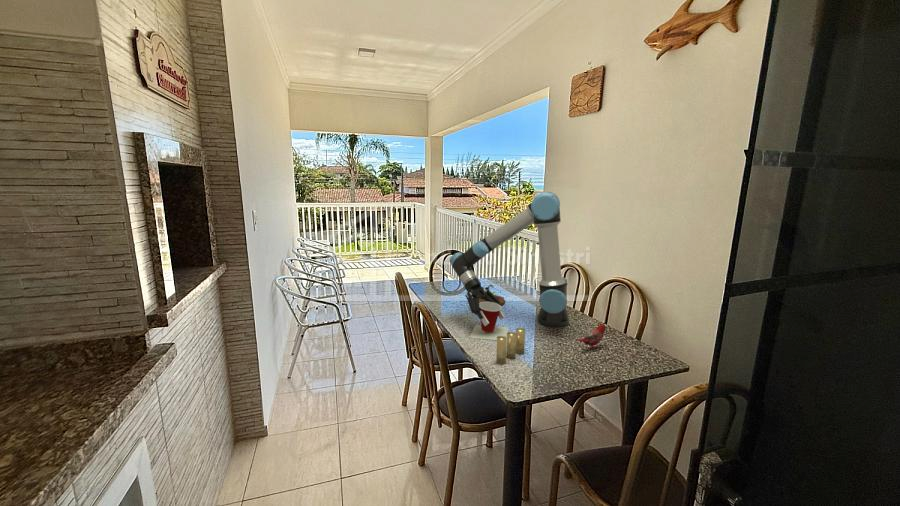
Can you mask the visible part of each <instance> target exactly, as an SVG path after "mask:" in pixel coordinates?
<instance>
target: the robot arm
mask: <svg viewBox="0 0 900 506" xmlns="http://www.w3.org/2000/svg"><path fill="white" fill-rule="evenodd" d="M560 201H561V200H560V199H559V197H558V196H557V195H556V194H555V193H554V192H551V191H544V192H540V193H538V194H536V195H535V196H534V197H533V199H532V201H531V202H530V203H529V204H528V205H527V206H526V208H525V209H524V210H523V211H521V212H520V213H519V214H516V215H515V216H514V217H513V218H511V219H510V220H508V221H507V222H506V223H504V224H503V225H501V226H499V227H498V228H496V229H495V230H494V231H493V232H491V233H490V234H489V233H488V235H487V236H485V237H484V238H482V239H481V240H477V242H475V243H473V244H472V245H471V246H470V247H469V248H467V250H465V252H463V253H462V252H460V251H459V252H456V253H454V254H453V255H451V256H450V258H449V264H450V265H451V267H452V269H453V271H454V272H455V274H456V275H457V277H458V278H459V281H460V282H461V283H462V285H463V286H464V289H465V290H466V291H467V293H466V294H465V295H464V296H465V299H466V300H467V302H468V306H469V308H470V313H471V314H474V315H477V317H478V319H479V320H480V319H481V320H480V322H481V321H482V322H483V324H484V326H486V325H487V324H488V323H489V322H488V320H487V318H486V317H485V315H484V313H483V312H482V311H480V307H479V299H481V298H482V299H484V300H485V301H487V302H493V303H497V304H499V303H500V301H499V300H498V299H497V298H496V297H495V296H494V295H495V294H494V295H493V294H492V292H491V291H490V288H489V289H488V286H486V287H483V286H482V283H481V281H480V280H479V278H478V277H477V275H476V273H475V272H474V270H473V269H472V267H473V266H474V265H475V264H476V263H479V261H480V260H483V258H485V257H486V256H487V255H488V254H489V253H490V252H492V251H494V250H495V249H496V248H498V247H500V246H501V245H502V244H504V243H506V242H507V241H510V239H511V238H513V237H515V236H516V235H517V234H519V233H521V232H522V231H524V230H526V229H527V228H528V227H530V226H531V225H534V226H535V227H536V228H537V237H538V238H537V239H538V247H539V248H538V249H539V258H540V259H539V260H540V270H541V271H540V272H541V280H540V281H539V282H538V289H539V298H538V301H539V305H540V308H539V312H538V314H537V323H538V324H540V325H542V326H545V327H551V328H565V327H568V325H569V323H570V318H569V315H568V311H567V304H568V299H567V297H568V296H567V295H568V279H567V278H565V277H562V270H561V255H560V241H559V229H558V225H559V224H560V223H561V210H560V207H561V202H560ZM482 287H483V288H484V289H483V288H482ZM502 311H503V310H502V309H501V310H500V312H499V314H498V318H499V320H503V319H504V318H505V317H506V316H505V315H504V313H503V312H502Z"/></svg>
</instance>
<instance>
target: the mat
mask: <svg viewBox="0 0 900 506" xmlns="http://www.w3.org/2000/svg"><path fill="white" fill-rule="evenodd" d="M509 330H510V329H509V327H508V326H497V325H495V329H494V331H493V332H485V331H483V330H482V328H481V324H475V325H474V328H473V329H472V332H471V334H470V336H469V339H470V340H471V339H474V340H484V341H496V342H497V337H498V336H504V337H506V339H507V333H508V332H509Z"/></svg>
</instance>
